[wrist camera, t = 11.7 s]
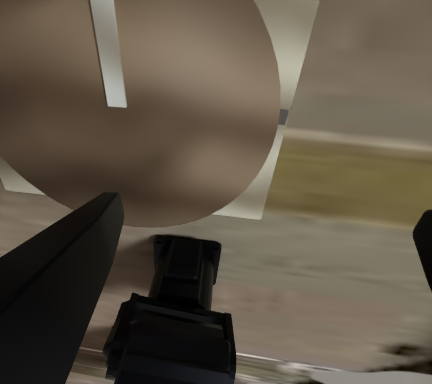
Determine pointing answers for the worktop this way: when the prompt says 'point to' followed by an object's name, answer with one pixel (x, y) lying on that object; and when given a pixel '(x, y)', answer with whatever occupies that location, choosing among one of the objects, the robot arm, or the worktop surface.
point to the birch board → (289, 74)
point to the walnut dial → (138, 102)
